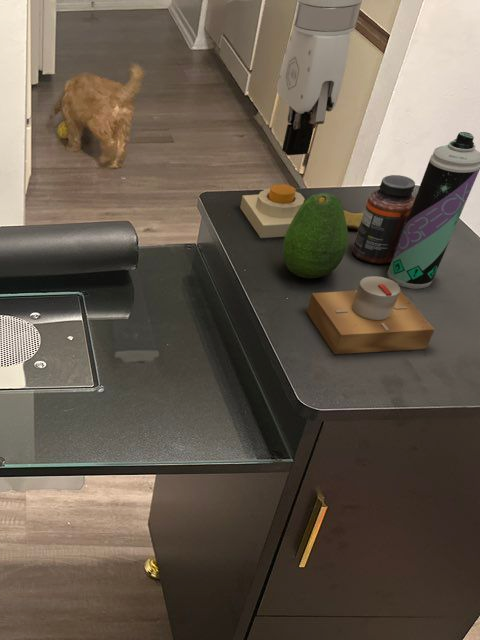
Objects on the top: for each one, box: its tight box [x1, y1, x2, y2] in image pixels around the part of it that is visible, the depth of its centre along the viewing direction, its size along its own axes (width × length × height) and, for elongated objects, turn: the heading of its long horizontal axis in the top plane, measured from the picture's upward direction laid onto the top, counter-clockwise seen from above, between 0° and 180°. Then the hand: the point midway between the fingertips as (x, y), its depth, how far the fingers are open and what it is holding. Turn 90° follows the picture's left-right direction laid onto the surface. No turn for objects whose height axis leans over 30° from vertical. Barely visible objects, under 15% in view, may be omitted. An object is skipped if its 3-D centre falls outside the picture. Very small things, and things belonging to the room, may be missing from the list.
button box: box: [239, 187, 305, 239], centre depth 112 cm, size 8×10×4 cm
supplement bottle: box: [352, 174, 416, 265], centre depth 100 cm, size 6×6×11 cm
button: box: [268, 183, 297, 204], centre depth 110 cm, size 4×4×2 cm
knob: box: [352, 275, 401, 320], centre depth 88 cm, size 4×4×4 cm
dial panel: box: [306, 289, 435, 355], centre depth 90 cm, size 11×9×3 cm
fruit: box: [282, 192, 349, 280], centre depth 97 cm, size 8×8×12 cm
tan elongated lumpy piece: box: [343, 209, 364, 231], centre depth 109 cm, size 3×14×3 cm
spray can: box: [386, 131, 480, 290], centre depth 93 cm, size 6×6×20 cm
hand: (294, 152), depth 106 cm, fingers closed
